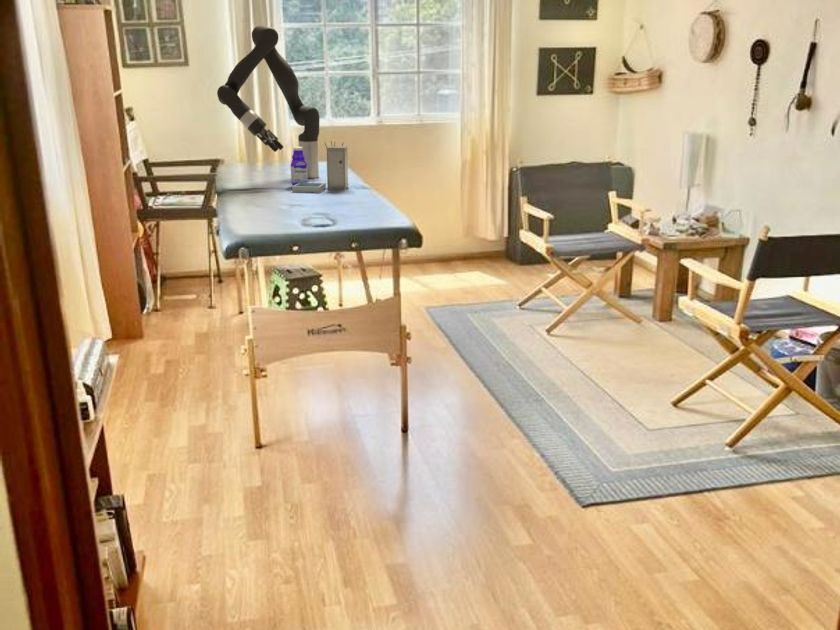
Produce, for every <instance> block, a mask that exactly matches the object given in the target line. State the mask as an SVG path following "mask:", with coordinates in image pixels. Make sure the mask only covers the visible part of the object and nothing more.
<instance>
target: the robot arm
mask: <svg viewBox="0 0 840 630" xmlns="http://www.w3.org/2000/svg"><path fill="white" fill-rule="evenodd" d="M251 38H252V39H251V41H252V43H253V44H254V47H253V48H252V49H251V50H250V52H249V53H248V54H247V55H246V56H245V57H243V58H241V60H240V61H239V62H238V63H237V64H236V65H235V66H234V68H233V69H232V70H231V72H230V74H229V75H228V78H227V80H226V82H225V84H223V85H220V86H219V87H218V89H217V93H216V95H217V100H218V101H219V102H220V103H221V104H222V105H225V106H227V107H228V108H229V109H230V111H231V113H232V114H233V116H235V117H236V118H237V120H239V122H240V123H241V124H242V125H243V126H244V128H245V129H247V130H248V131H249V132H250V133H251V134H252V136H253V137H257V138H258V139H259V140H260V141H261V142H262V143H263V144H264V146H267V147H269V148H270V149H271V150H272V151H273V152H274V153H276V152H277V151H278V150H279V151H281V150H282V149H283V148H284V145H283V144H282V143H281V142H280V141H279V137H277V136H276V135H275V134H274V133H273V132H272V131H271V130H270V129H269V128H268V129H266V127H267V123H266V122H265V121H264V120H263V119H262V118H261V117H260V116H259V115H258V114H257V113H256V112H255V111H253V109H251V107H250V106H248V104H246V103H245V102H244V101H243V100H242V99H241V97H240V96H239V94H238V93H239V92H240V90H241V88H242V87H243V85H244V84H245V83H246V81H247V80H248V78H249V77H250V75H252V74H253V72H254V70H255V69H256V67H257V66H258V65H259V64H260V63H261V62H262V60H264V61H265V62H266V65H267V67H268V69H269V71H270V72H271V75H272V76H273V79H274V80H275V82H276V84H277V86H278V88H279V89H280V91H281V92H282V95H283V97H284V99H285V101H286V103H287V105H288V107H289V109H290V112H291V114H292V117H293V119H294V122H295V123H296V124H297V125H298V126H301V127H304V129H303V132H302V133H300V134H298V137H297V139H298V147H303V154H304V156H305V158H304V159H305V161H306V163H307V174H308V179H313V178H319V177H320V176H319V175H320V173H319V169H320V168H319V166H320V165H319V140H318V139H319V134H320V114H319V110H318V109H317V108H316V107H315V106H305V105H304V103H303V101H302V100H301V98H300V95H299V81H298V80H299V79H298V77H297V75H296V74H295V72H294V69H293V68H292V66H291V65H290V64H289V63H288V61H286V59H285V58H284V57H283V56H282V55H281V54H280V53H279V51H278V50H277V48H276V46H277V44H278V42H279V34H278V31H277V30H276V29H275V28H273V27H270V26H266V25H257V26H255V27H254V28H253V29H252V32H251Z"/></svg>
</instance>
